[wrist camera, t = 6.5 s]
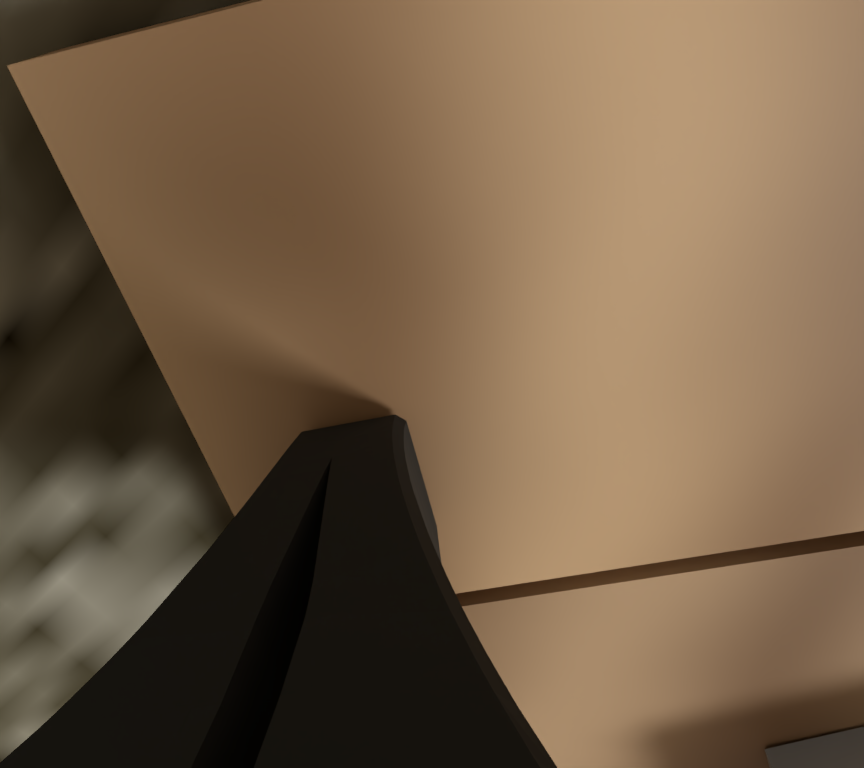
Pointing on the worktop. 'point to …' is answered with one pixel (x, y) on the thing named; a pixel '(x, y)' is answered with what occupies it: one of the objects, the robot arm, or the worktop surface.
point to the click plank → (500, 255)
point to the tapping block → (821, 752)
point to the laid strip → (685, 655)
